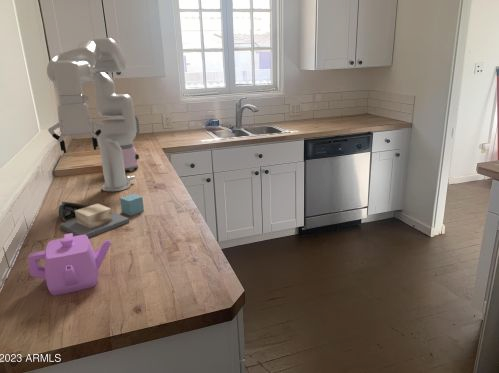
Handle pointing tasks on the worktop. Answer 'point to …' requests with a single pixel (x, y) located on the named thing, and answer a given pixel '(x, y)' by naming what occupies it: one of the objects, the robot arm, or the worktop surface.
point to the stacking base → (96, 229)
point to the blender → (128, 148)
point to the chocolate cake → (69, 210)
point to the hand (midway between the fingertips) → (80, 150)
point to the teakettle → (68, 264)
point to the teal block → (132, 204)
